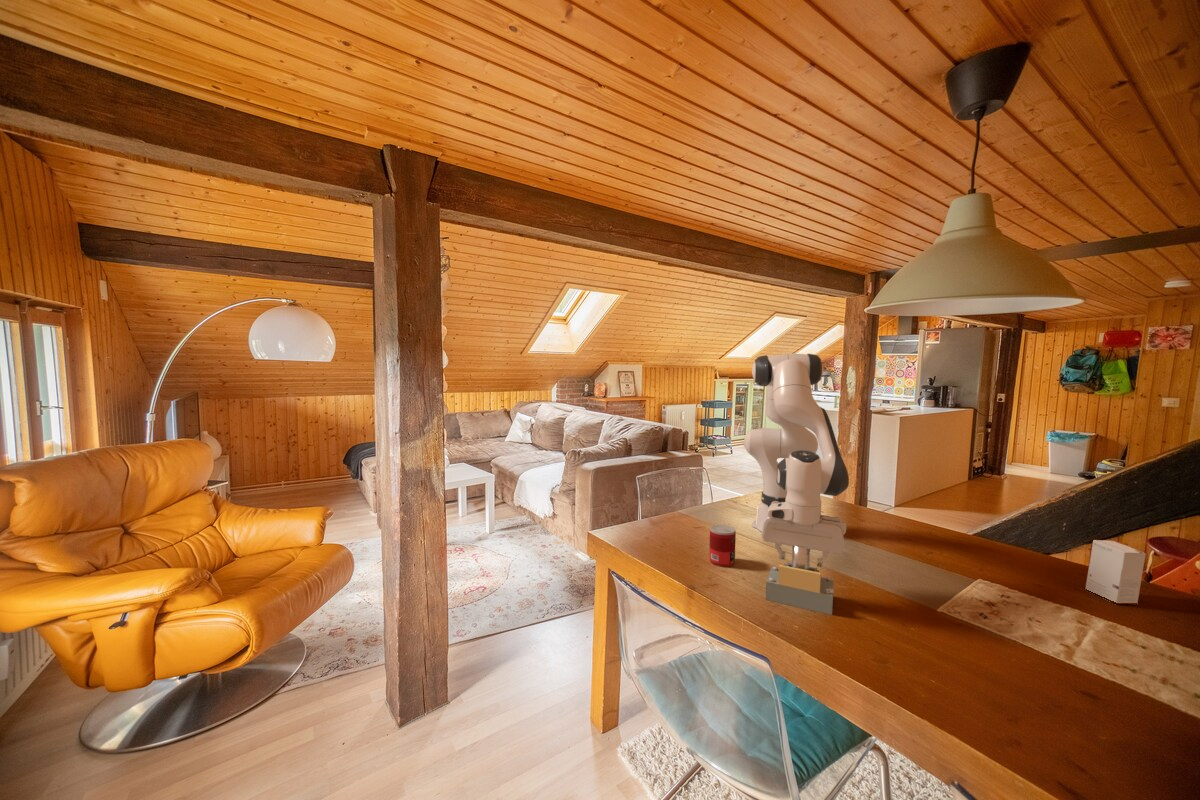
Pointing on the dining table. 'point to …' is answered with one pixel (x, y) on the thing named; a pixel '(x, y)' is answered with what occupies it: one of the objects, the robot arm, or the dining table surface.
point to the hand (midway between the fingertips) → (800, 562)
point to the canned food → (722, 545)
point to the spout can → (800, 557)
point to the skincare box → (1115, 571)
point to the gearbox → (800, 588)
